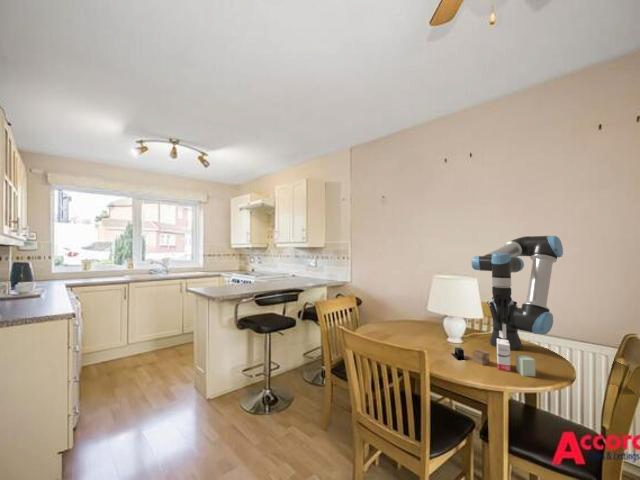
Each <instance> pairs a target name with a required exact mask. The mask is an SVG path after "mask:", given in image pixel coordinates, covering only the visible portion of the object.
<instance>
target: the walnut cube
mask: <svg viewBox="0 0 640 480" xmlns="http://www.w3.org/2000/svg"><path fill="white" fill-rule="evenodd" d="M472 361H474V362H473V363H475V364H478V365H481V366H485V365H488V364H490V361H491V360H490V352H488V351H485V350H482V349H476V350H472Z"/></svg>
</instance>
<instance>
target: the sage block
mask: <svg viewBox="0 0 640 480" xmlns="http://www.w3.org/2000/svg"><path fill="white" fill-rule="evenodd" d="M515 358H516V359H515V366H516V367H515V369H516V372H517V373H519V374H520V375H521V376H522V377H536V360H535V359H534V358H533V357H531V356H529V355H522V354H519V355H518V354H516V355H515Z"/></svg>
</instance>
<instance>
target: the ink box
mask: <svg viewBox="0 0 640 480" xmlns="http://www.w3.org/2000/svg"><path fill="white" fill-rule="evenodd" d="M496 364H497V369H498V371H499V370H501V371H506V372H511V371H512V369H511V367H512V366H511V350H510V344H509V341H508V340H504V339H497V347H496Z"/></svg>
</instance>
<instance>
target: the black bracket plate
mask: <svg viewBox="0 0 640 480" xmlns="http://www.w3.org/2000/svg"><path fill="white" fill-rule="evenodd" d="M464 351H465V350H464V349H463V348H462V347H454V352H451V353H450V354H451V356H452V357H454V359H455V360H457V361H462V360H465V361H468V360H469V359H468V357H466V356H465V352H464ZM465 361H464V362H465Z"/></svg>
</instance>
